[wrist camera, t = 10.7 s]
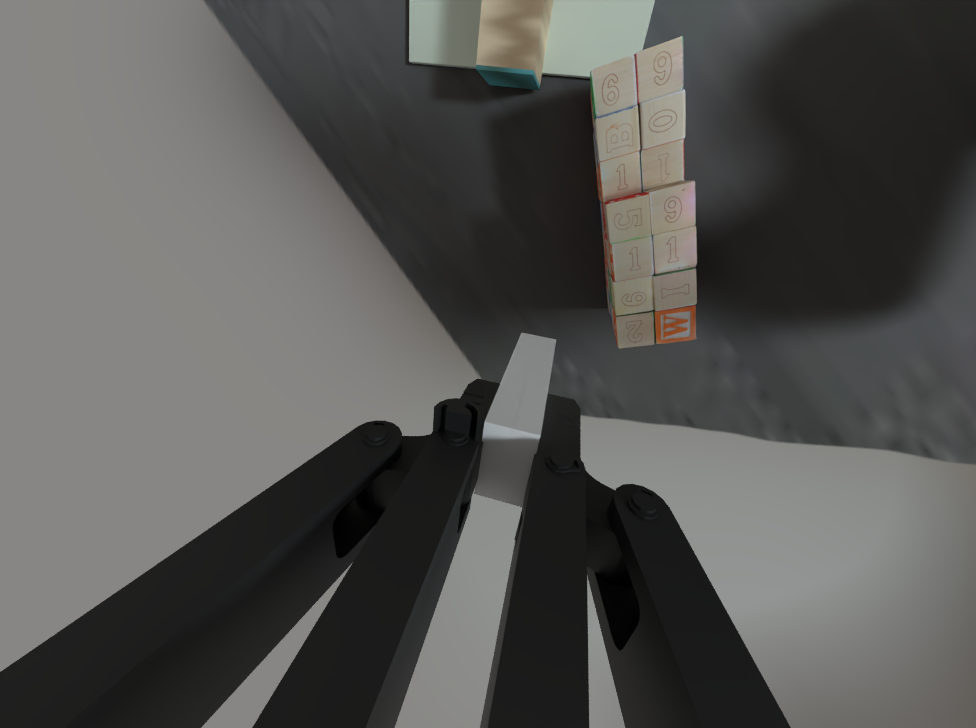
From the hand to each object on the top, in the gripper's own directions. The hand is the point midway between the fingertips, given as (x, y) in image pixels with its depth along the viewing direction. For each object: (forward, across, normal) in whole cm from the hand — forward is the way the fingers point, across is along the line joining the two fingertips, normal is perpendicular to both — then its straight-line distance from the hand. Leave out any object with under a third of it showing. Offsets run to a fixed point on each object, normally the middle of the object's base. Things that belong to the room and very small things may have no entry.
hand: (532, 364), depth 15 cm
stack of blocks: (+29, +6, +6) cm, 30 cm away
